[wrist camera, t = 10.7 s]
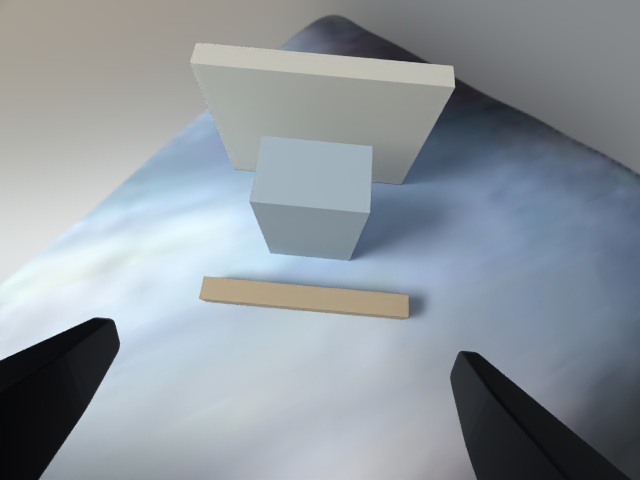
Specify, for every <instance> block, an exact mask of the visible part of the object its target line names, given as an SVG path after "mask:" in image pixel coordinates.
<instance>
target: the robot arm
mask: <svg viewBox="0 0 640 480" xmlns="http://www.w3.org/2000/svg"><path fill="white" fill-rule="evenodd" d="M119 347H120V341H119V337H118V333H117V329H116V325H115V322H114V321H113V320H112V319H110V318H99V317H97V318H93V319H90V320H88V321H86V322H84V323H81V324H79V325H77V326H75V327H73V328H70V329H68V330H66V331H64V332H62V333H60V334H57V335H55V336H53V337H51V338H49V339H46V340H44V341H42V342H40V343H38V344H35V345H33V346H31V347H29V348H27V349H24V350H22V351H20V352H18V353H16V354H13V355H11V356H9V357H7V358H5V359H3V360H0V480H39V478H40V477H41V475H42V474H43V472H44V471H45V469H46V468H47V467H48V465H49V464H50V462H51V461H52V459H53V458H54V456H55V455H56V453H57V452H58V450H59V449H60V447H61V446H62V444H63V443H64V441H65V440H66V439H67V437H68V436H69V434H70V433H71V431H72V430H73V428H74V427H75V425H76V424H77V422H78V421H79V419H80V418H81V416H82V415H83V413H84V412H85V410H86V408H87V407H88V405H89V403H90V402H91V400H92V398H93V396H94V394H95V393H96V391H97V389H98V387H99V385H100V384H101V382H102V380H103V378H104V376H105V375H106V373H107V371H108V369H109V367H110V366H111V364H112V362H113V360H114V358H115V357H116V355H117V353H118V351H119ZM450 380H451V386H452V390H453V394H454V398H455V403H456V407H457V411H458V416H459V420H460V424H461V429H462V433H463V437H464V441H465V445H466V448H467V451H468V454H469V457H470V460H471V463H472V466H473V469H474V472H475V475H476V478H477V480H631V479H630V478H628V477H627V476H626V475H625V474H624V473H622V472H621V471H620V470H619V469H618V468H616V467H615V466H614V465H613V464H611V463H610V462H609V461H608V460H607V459H605V458H604V457H603V456H602V455H601V454H599V453H598V452H597V451H596V450H595V449H593V448H592V447H591V446H590V445H589V444H587V443H586V442H585V441H584V440H582V439H581V438H580V437H579V436H578V435H576V434H575V433H574V432H573V431H572V430H570V429H569V428H568V427H567V426H566V425H564V424H563V423H562V422H561V421H559V420H558V419H557V418H556V417H555V416H553V415H552V414H551V413H550V412H549V411H547V410H546V409H545V408H544V407H543V406H541V405H540V404H539V403H538V402H536V401H535V400H534V399H533V398H532V397H530V396H529V395H528V394H527V393H526V392H524V391H523V390H522V389H521V388H520V387H518V386H517V385H516V384H515V383H513V382H512V381H511V380H510V379H509V378H507V377H506V376H505V375H504V374H503V373H501V372H500V371H499V370H498V369H497V368H495V367H494V366H493V365H492V364H491V363H489V362H488V361H487V360H486V359H484V358H483V357H482V356H481V355H480V354H478V353H476V352H469V351H461V352H459V353H458V355H457V358H456V361H455V363H454V366H453V369H452V371H451V376H450Z"/></svg>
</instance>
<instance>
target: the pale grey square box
mask: <svg viewBox="0 0 640 480" xmlns="http://www.w3.org/2000/svg"><path fill="white" fill-rule="evenodd" d="M372 150H373V146H364V145H354V144H344V143H333V142H323V141H312V140H302V139H292V138H281V137H271V136H262V139H261V145H260V150H259V155H258V160H257V166H256V171H255V176H254V181H253V186H252V192H251V197H250V204H251V206H252V209H253V211H254V214H255V216H256V219H257V221H258V224H259V226H260V229H261V231H262V234H263V236H264V238H265V241H266V243H267V246H268V248H269V251H270V253H274V254H284V255H294V256H305V257H315V258H325V259H336V260H346V261H349V260H350V258H351V256H352V253H353V251H354V249H355V246H356V244H357V242H358V240H359V237H360V235H361V233H362V231H363V228H364V226H365V224H366V221H367V219H368V217H369V215H370V203H371V176H372Z"/></svg>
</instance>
